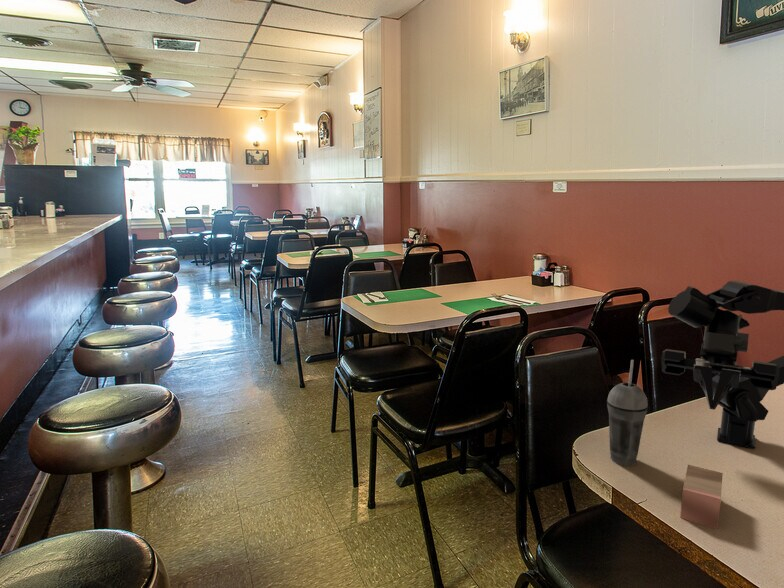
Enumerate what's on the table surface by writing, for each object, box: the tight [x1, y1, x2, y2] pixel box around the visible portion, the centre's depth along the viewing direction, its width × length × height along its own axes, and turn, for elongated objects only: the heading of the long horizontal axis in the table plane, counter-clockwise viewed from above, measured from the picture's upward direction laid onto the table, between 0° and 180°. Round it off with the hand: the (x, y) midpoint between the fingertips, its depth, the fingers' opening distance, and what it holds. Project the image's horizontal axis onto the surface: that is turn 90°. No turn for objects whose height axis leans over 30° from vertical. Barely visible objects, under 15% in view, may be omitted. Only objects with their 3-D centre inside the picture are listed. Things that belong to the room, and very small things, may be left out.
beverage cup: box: [606, 359, 649, 467], centre depth 95 cm, size 7×7×20 cm
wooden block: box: [679, 464, 724, 529], centre depth 81 cm, size 5×5×9 cm
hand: (712, 408), depth 92 cm, fingers closed
